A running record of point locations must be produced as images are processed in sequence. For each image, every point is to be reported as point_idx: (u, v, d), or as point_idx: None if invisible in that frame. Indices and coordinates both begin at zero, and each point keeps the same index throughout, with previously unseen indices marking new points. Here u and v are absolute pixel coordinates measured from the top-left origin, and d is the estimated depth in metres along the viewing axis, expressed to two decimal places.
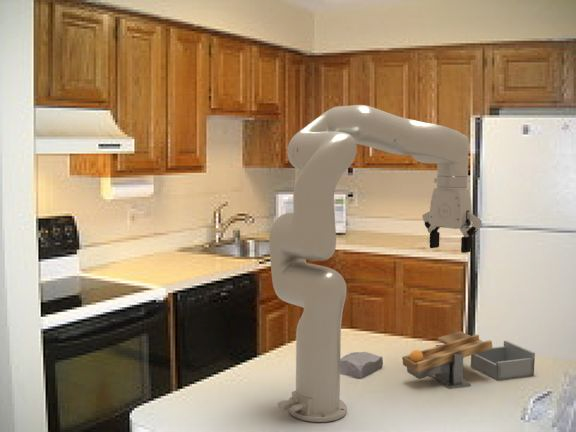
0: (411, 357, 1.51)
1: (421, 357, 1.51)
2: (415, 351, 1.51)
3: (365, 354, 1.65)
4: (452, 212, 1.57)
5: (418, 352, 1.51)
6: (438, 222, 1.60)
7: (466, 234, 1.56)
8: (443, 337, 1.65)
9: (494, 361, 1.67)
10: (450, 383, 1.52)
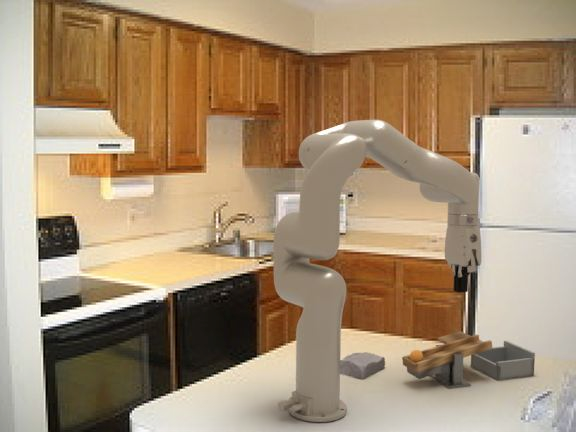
0: (411, 357, 1.51)
1: (421, 357, 1.51)
2: (415, 351, 1.51)
3: (367, 354, 1.65)
4: None
5: (418, 352, 1.51)
6: None
7: None
8: (443, 337, 1.65)
9: (494, 361, 1.67)
10: (450, 383, 1.52)
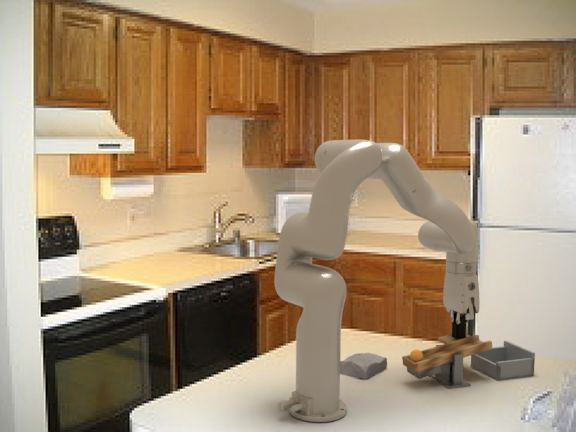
0: (411, 357, 1.51)
1: (421, 357, 1.51)
2: (415, 351, 1.51)
3: (369, 355, 1.64)
4: None
5: (418, 352, 1.51)
6: None
7: None
8: (443, 338, 1.65)
9: (494, 361, 1.67)
10: (450, 383, 1.52)
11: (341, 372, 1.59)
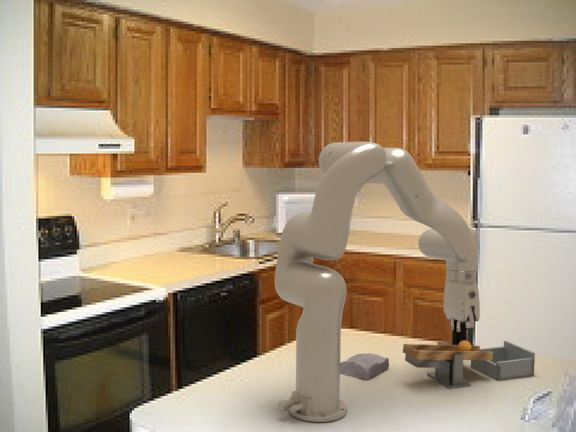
0: (468, 342, 1.56)
1: (467, 350, 1.55)
2: None
3: (371, 355, 1.64)
4: None
5: (470, 350, 1.56)
6: None
7: None
8: (443, 342, 1.65)
9: (494, 361, 1.67)
10: (450, 383, 1.52)
11: (343, 373, 1.59)
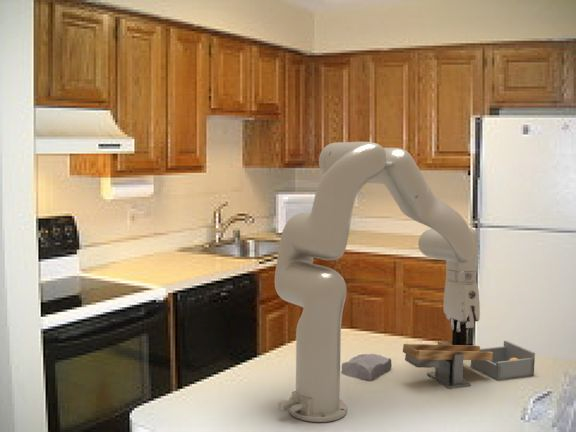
0: None
1: None
2: None
3: (373, 356, 1.64)
4: None
5: None
6: None
7: None
8: (443, 342, 1.65)
9: (494, 361, 1.67)
10: (450, 383, 1.52)
11: (346, 373, 1.59)
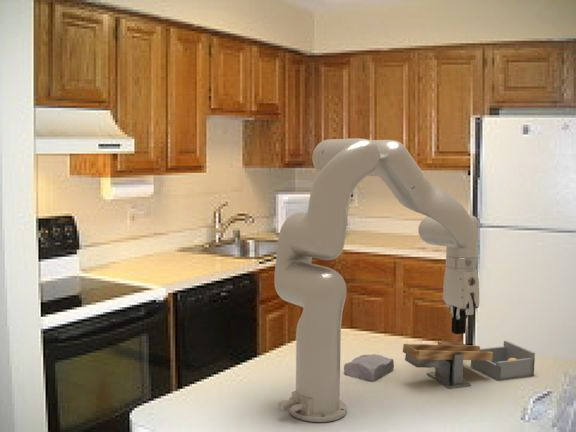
0: None
1: None
2: None
3: (376, 356, 1.63)
4: None
5: None
6: None
7: None
8: (443, 342, 1.65)
9: (494, 361, 1.67)
10: (450, 383, 1.52)
11: (348, 374, 1.58)
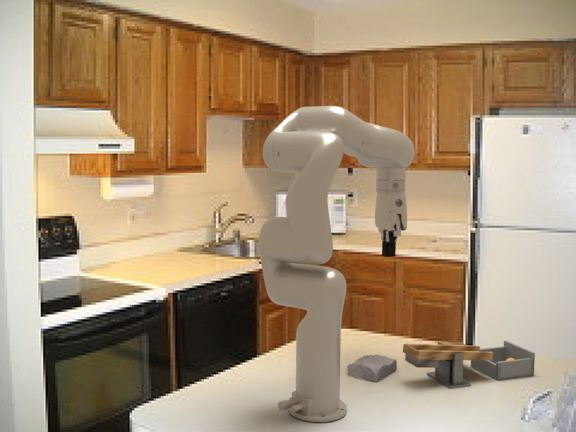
0: None
1: None
2: None
3: (379, 357, 1.63)
4: None
5: None
6: None
7: None
8: (443, 342, 1.65)
9: (494, 361, 1.67)
10: (450, 383, 1.52)
11: (351, 375, 1.58)
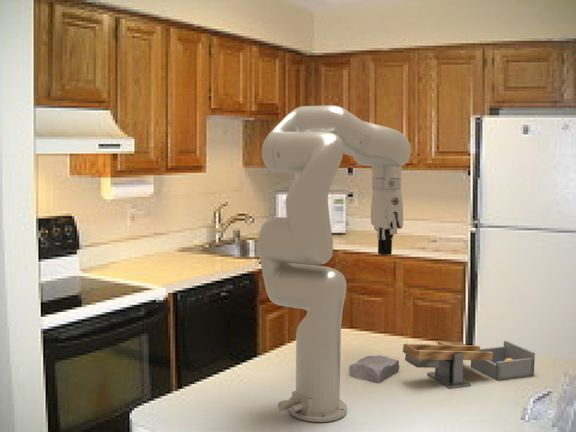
0: None
1: None
2: None
3: (381, 358, 1.62)
4: None
5: None
6: None
7: None
8: (443, 342, 1.65)
9: (494, 361, 1.67)
10: (450, 383, 1.52)
11: (353, 375, 1.57)
